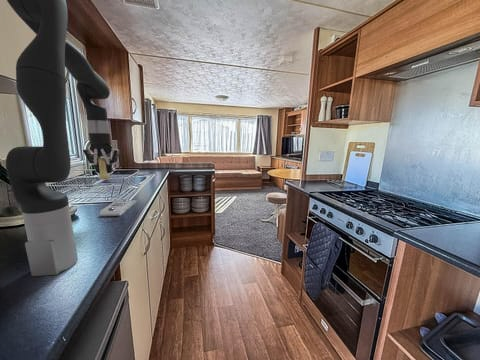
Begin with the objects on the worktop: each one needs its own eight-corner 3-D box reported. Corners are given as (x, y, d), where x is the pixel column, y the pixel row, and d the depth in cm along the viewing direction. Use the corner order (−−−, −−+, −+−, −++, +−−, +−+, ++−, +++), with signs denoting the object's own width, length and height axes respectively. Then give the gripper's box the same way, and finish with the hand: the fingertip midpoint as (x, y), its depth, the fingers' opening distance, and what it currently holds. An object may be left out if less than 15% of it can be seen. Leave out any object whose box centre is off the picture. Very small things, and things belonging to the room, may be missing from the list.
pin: (107, 179, 89) (104, 158, 87) (98, 179, 89) (95, 158, 87) (111, 177, 93) (109, 157, 90) (103, 177, 92) (100, 157, 90)
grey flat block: (120, 215, 95) (119, 209, 94) (100, 216, 94) (99, 209, 93) (136, 202, 114) (135, 196, 114) (120, 202, 113) (119, 197, 113)
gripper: (74, 131, 82) (81, 174, 86) (113, 132, 83) (118, 174, 87) (86, 131, 89) (92, 171, 93) (121, 132, 91) (125, 171, 94)
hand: (104, 172), depth 90 cm, fingers closed on pin, 3 cm apart
